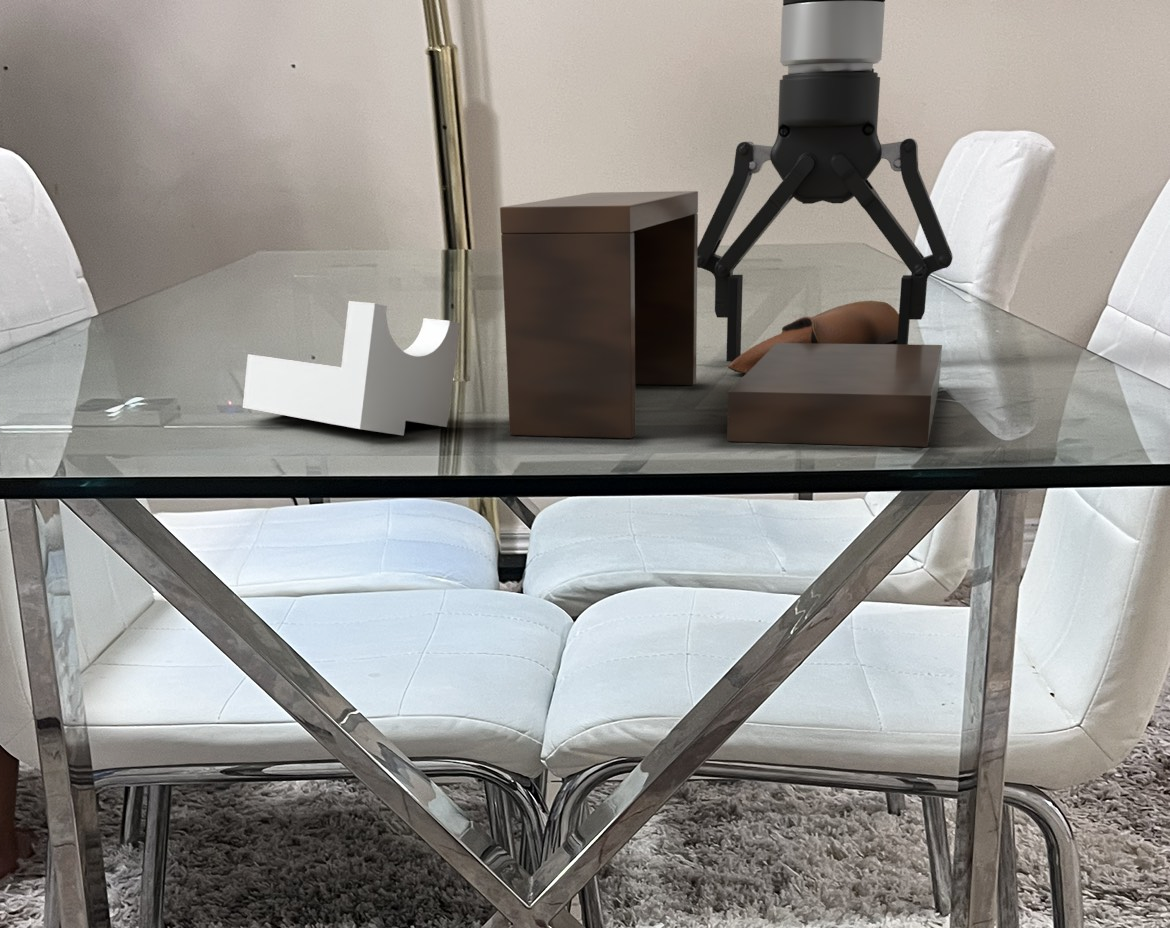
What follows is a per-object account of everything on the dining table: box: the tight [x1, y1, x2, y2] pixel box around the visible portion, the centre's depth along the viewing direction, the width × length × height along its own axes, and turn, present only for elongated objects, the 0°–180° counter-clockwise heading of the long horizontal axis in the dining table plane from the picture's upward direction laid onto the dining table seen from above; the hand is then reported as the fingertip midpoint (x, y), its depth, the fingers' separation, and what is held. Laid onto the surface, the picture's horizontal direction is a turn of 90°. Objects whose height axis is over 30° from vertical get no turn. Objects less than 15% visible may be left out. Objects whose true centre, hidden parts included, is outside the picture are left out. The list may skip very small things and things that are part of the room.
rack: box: [499, 190, 943, 448], centre depth 93 cm, size 26×22×14 cm
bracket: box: [242, 300, 462, 436], centre depth 93 cm, size 13×7×8 cm, turn 46°
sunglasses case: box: [727, 300, 899, 375], centre depth 114 cm, size 18×7×7 cm, turn 149°
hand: (816, 361), depth 114 cm, fingers open, 13 cm apart
